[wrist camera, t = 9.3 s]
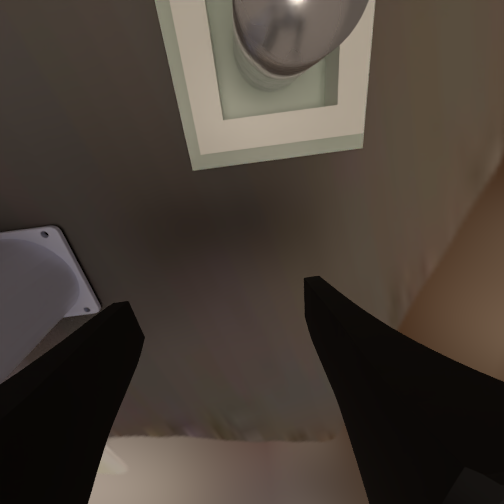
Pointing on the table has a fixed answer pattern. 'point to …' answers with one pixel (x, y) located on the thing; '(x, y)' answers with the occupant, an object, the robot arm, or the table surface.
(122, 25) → the table surface
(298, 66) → the grey cylinder
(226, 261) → the table surface
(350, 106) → the socket
